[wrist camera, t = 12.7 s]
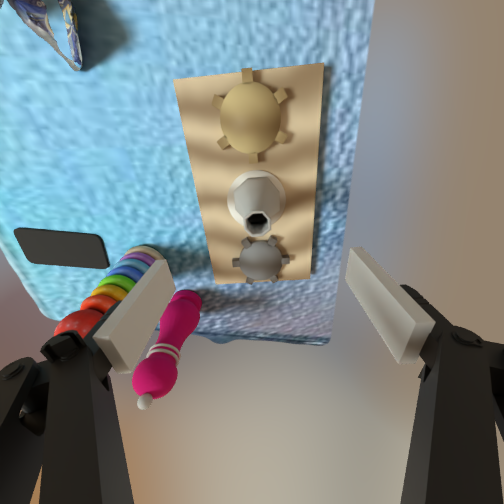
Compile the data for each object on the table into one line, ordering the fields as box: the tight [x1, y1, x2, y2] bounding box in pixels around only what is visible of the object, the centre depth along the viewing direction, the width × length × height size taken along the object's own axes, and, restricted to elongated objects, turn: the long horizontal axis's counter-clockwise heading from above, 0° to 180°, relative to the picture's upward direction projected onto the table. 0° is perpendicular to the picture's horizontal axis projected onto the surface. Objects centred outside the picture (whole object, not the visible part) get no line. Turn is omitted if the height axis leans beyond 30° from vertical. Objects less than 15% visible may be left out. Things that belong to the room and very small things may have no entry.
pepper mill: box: [132, 290, 202, 410], centre depth 35 cm, size 7×7×20 cm
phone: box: [14, 228, 109, 269], centre depth 38 cm, size 7×1×15 cm
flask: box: [233, 177, 280, 237], centre depth 27 cm, size 7×7×10 cm
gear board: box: [173, 63, 324, 285], centre depth 32 cm, size 31×18×3 cm, turn 5°
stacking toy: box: [54, 246, 165, 338], centre depth 31 cm, size 8×8×19 cm
